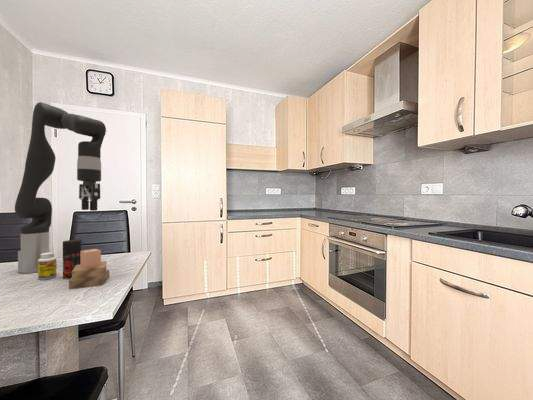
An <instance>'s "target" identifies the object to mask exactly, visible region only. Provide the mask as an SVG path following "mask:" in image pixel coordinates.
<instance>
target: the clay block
mask: <svg viewBox="0 0 533 400" xmlns="http://www.w3.org/2000/svg"><path fill="white" fill-rule="evenodd" d="M80 261H81V267H83V268H85V269H87V268H92V267H96V266H101V262H102V250H100V249H98V248H91V249H84V250H81V251H80Z"/></svg>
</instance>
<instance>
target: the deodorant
mask: <svg viewBox="0 0 533 400" xmlns="http://www.w3.org/2000/svg"><path fill="white" fill-rule="evenodd" d="M80 251H82V240H81V239H70V240H64V241H62V279H64V280H71V278H72V271H73V269H74V267H75V265H80V264H81V261H80Z"/></svg>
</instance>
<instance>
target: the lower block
mask: <svg viewBox="0 0 533 400" xmlns="http://www.w3.org/2000/svg"><path fill="white" fill-rule="evenodd" d="M109 278H110V269H106V276H103V277H96V278H90V279H83V280H77V281H72V279H69V280H68V289H69V290H74V289H81V288H91V287H99V286H100V287H101V286H103V285H104V284H105V283H106V282H107V281H108V280H109Z"/></svg>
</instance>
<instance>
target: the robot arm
mask: <svg viewBox="0 0 533 400" xmlns="http://www.w3.org/2000/svg"><path fill="white" fill-rule="evenodd" d="M31 120H32V121H31V132H30V133H31V134H30V139H29V145H28V148H27V149H28V150H27V154H26V160H25V165H24V171H23V177H22V181H21V185H20V188H19V191H18V194H17V197H16V200H15V203H14V213H15V214H16V216H17V217H18V218H20V219H31V221H30V222H28V224H26V225H24V226H22V227H20V250H18V251H17V273H22V274H31V273H38V260H39V259H40V258H41V254H42V253H49V252H50V227H51V226H52V214H53V205H52V202H51V201H50V199H48V198H47V197H37V195H38V191H39V189H40V188H41V186H42V185H43V184H44V183H45V181H47V179H49V177H50V176H51V175H52V174H53V172H54V169H55V164H56V154H55V152H54V149H53V148H52V147H51V145H50V143H49V141H48V139H47V137H46V130H45V126H47V127H50V128H52V129H53V128H54V129H58V130H66V129H67V130H68V131H71V132H73V133H76V134H79V135H82V136H87V137H91V140H90V141H88V140H87V141H85V140H84V141H83V140H82V141H79V142H78V145H77V162H76V180H77V181H79V182H82V183H81V184H80V183H79V184H78V185H79V186H78V188H79V190H78V192H79V193H78V199H79V200H80V201H81V210H82V211H87V210H90V211H93V212H94V211H95V212H96V211H98V201H99V200H100V199H101V184H100V183H99V182H101V181H102V161H101V157H102V156H101V149H102V145H103V142H104V139H105V136H106V133H107V127H106V125H105V123H104V122H103V121H101V120H98V119H94V118H91V117H87V116H84V115H80V114H76V113H75V114H74V113H69V112H67V111H66V110H64V109H62V108H59V107H56V106H54V105H51V104H48V103H46V102H37V103H36V104H35V106H34V108H33V112H32V119H31Z"/></svg>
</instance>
